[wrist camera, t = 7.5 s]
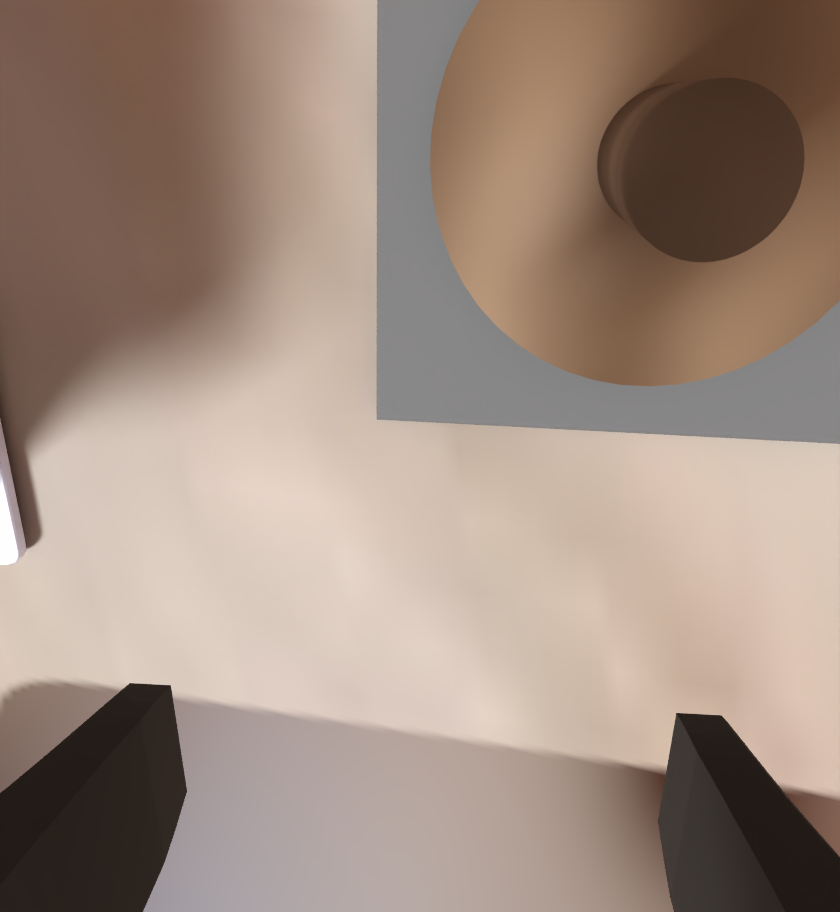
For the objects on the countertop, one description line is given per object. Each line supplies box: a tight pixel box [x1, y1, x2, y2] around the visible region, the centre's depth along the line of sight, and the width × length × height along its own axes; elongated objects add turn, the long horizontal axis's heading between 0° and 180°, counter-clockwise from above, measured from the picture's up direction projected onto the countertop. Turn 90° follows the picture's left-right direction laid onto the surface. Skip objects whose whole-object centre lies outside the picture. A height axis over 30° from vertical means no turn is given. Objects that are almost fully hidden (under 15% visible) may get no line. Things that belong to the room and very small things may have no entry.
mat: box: [377, 0, 840, 444], centre depth 17 cm, size 12×12×1 cm
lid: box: [430, 0, 840, 386], centre depth 15 cm, size 10×10×4 cm
